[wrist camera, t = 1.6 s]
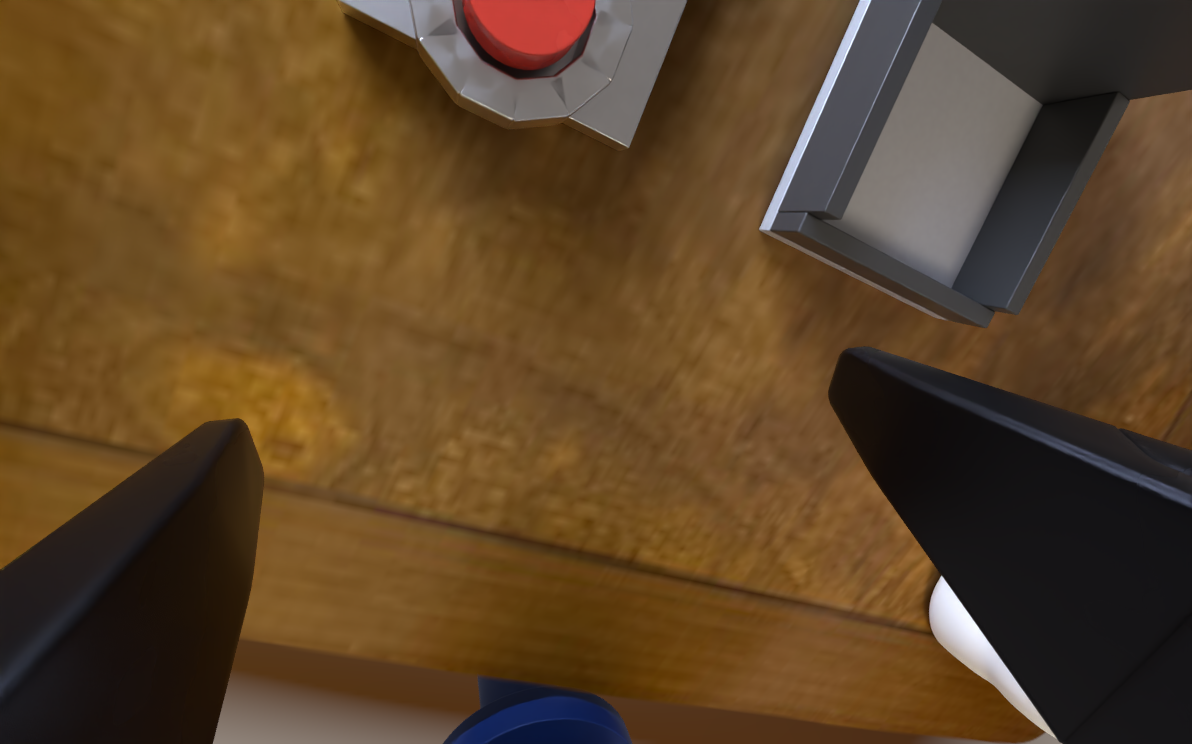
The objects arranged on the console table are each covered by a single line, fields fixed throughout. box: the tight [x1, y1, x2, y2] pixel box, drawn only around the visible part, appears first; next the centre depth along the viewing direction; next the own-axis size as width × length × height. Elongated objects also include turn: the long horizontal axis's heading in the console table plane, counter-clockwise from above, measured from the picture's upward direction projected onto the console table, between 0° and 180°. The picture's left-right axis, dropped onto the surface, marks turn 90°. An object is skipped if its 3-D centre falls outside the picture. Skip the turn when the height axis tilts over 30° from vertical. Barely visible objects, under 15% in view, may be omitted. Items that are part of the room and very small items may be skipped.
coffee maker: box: [759, 0, 1192, 328], centre depth 18 cm, size 14×11×14 cm
